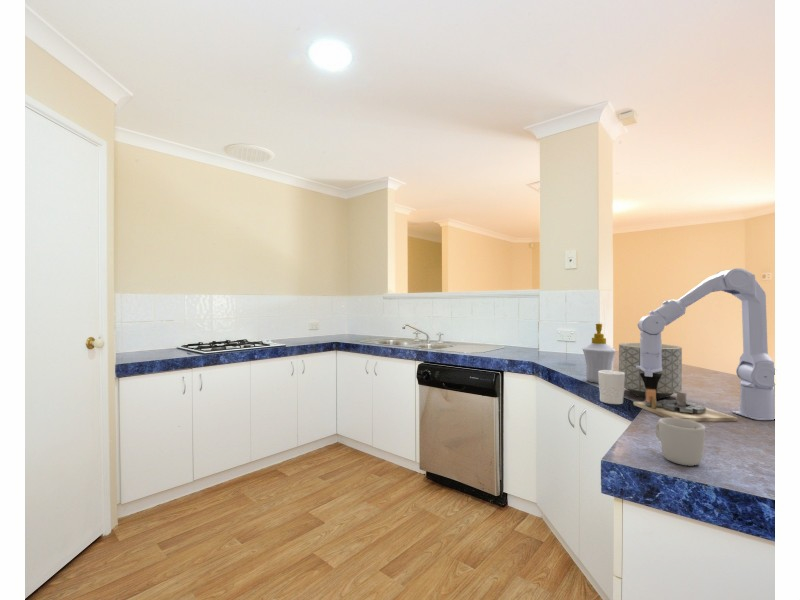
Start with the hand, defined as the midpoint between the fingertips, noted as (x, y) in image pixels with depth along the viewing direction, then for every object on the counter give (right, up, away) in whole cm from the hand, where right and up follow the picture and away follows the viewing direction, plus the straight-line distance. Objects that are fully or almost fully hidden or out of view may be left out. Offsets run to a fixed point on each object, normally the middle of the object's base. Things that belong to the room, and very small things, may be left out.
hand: (650, 396), depth 123 cm
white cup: (-9, -4, +7) cm, 12 cm away
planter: (+10, -4, +16) cm, 19 cm away
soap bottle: (+5, -4, +41) cm, 41 cm away
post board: (+6, -4, -5) cm, 9 cm away
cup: (-21, -3, -41) cm, 46 cm away
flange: (+4, -2, -4) cm, 6 cm away
